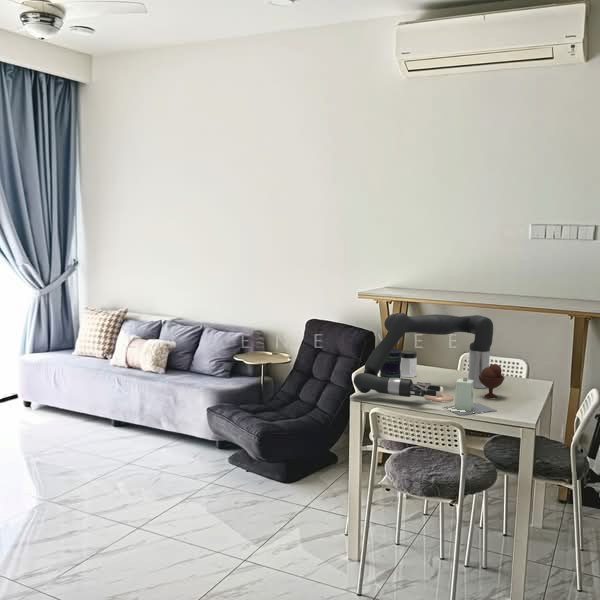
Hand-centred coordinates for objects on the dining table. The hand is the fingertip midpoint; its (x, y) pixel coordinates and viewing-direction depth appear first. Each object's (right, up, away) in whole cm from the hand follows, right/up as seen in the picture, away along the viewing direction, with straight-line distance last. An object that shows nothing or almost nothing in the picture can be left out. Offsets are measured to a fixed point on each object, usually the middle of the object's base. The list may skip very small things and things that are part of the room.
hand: (438, 391), depth 282 cm
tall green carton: (+10, -7, -3) cm, 12 cm away
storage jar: (-14, -1, +44) cm, 46 cm away
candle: (+3, -4, +13) cm, 14 cm away
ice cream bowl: (+27, -5, +17) cm, 32 cm away
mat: (+12, -7, -3) cm, 14 cm away
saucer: (+3, -5, +13) cm, 14 cm away
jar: (-4, 0, +56) cm, 56 cm away
